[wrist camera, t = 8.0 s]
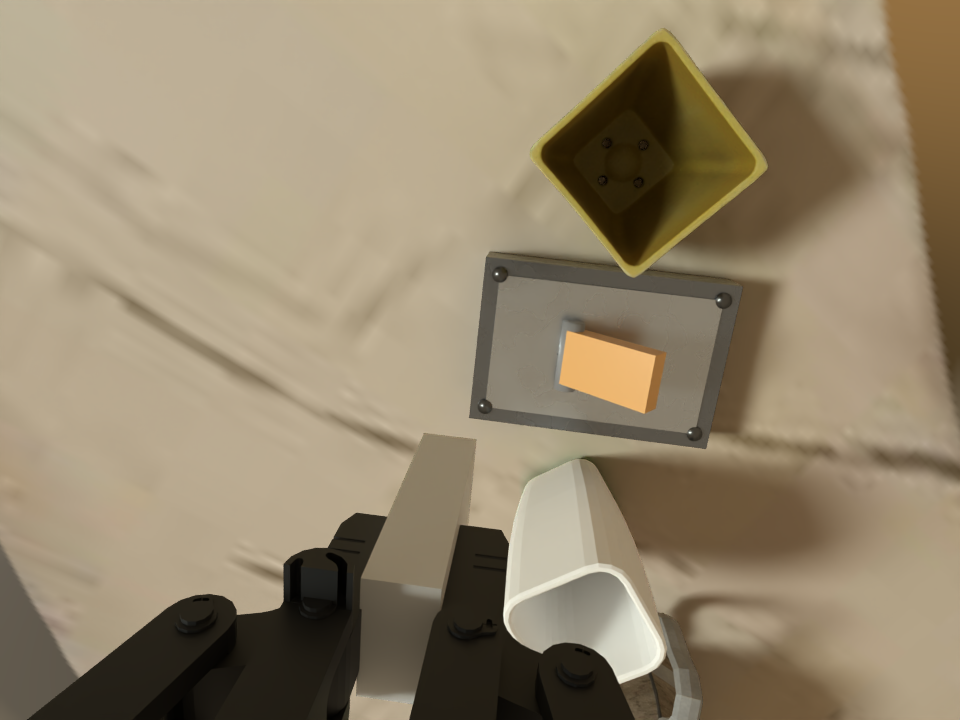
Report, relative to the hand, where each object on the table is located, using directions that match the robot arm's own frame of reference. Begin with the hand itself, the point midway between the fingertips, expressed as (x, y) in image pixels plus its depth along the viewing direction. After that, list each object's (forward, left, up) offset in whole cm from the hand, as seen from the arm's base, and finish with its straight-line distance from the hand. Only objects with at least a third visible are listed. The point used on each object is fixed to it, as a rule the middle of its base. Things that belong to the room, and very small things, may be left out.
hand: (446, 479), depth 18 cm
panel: (+2, +7, -26) cm, 27 cm away
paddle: (+2, +5, -22) cm, 23 cm away
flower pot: (-10, +7, -27) cm, 29 cm away
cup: (+14, +7, -27) cm, 31 cm away
